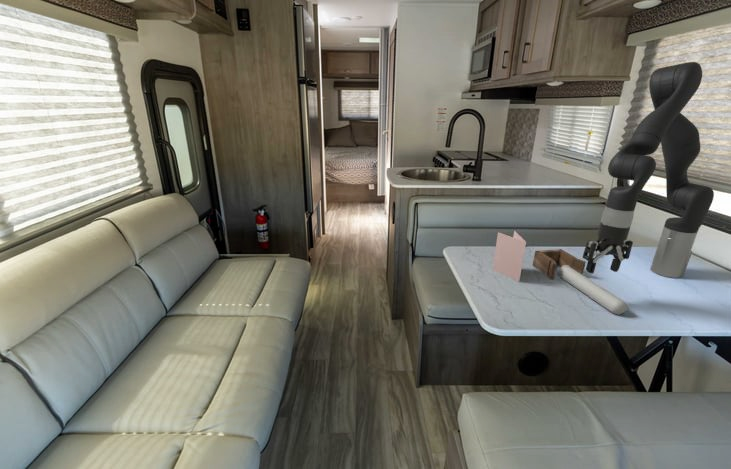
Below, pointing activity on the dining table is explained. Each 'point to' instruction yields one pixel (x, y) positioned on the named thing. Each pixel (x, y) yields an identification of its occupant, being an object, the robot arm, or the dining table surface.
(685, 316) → the dining table surface
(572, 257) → the socket block
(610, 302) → the tube
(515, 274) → the greeting card
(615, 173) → the robot arm
